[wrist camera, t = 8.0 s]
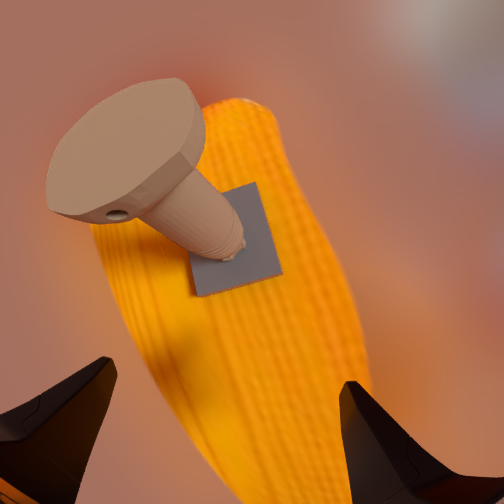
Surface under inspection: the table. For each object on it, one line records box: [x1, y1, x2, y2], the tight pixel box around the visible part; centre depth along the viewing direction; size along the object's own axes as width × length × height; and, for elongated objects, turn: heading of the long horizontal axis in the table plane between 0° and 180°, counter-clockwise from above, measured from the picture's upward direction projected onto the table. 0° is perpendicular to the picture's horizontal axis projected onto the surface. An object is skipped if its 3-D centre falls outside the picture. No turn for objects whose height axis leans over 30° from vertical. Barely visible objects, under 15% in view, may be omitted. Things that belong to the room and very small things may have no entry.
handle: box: [46, 78, 246, 261], centre depth 15 cm, size 5×6×15 cm
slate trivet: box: [188, 182, 283, 297], centre depth 23 cm, size 8×7×1 cm
